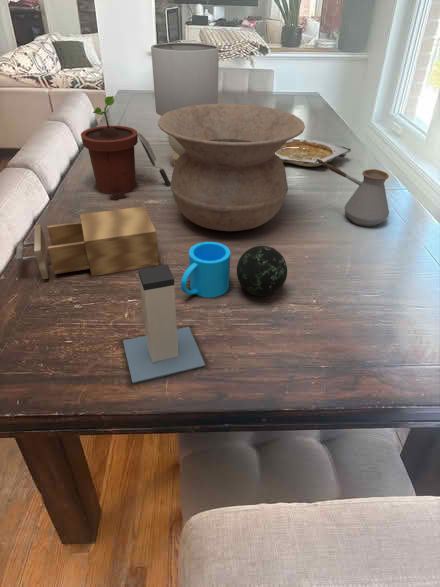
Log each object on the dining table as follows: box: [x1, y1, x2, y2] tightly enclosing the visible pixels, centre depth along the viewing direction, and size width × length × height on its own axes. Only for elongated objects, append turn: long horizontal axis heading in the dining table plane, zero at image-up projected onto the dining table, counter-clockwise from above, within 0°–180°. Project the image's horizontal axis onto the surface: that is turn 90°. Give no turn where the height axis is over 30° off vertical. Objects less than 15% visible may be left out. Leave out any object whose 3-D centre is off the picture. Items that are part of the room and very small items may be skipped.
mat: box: [122, 326, 206, 385], centre depth 70 cm, size 12×10×1 cm
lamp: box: [150, 41, 220, 167], centre depth 133 cm, size 20×20×35 cm
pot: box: [157, 103, 306, 232], centre depth 104 cm, size 34×34×25 cm
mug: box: [180, 241, 231, 298], centre depth 83 cm, size 12×8×8 cm
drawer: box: [15, 221, 90, 280], centre depth 89 cm, size 18×11×7 cm, turn 109°
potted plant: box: [80, 95, 171, 201], centre depth 118 cm, size 18×22×25 cm
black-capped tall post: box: [137, 264, 178, 363], centre depth 65 cm, size 4×4×16 cm
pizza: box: [275, 138, 352, 168], centre depth 149 cm, size 32×4×23 cm
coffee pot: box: [314, 159, 390, 227], centre depth 108 cm, size 21×12×15 cm, turn 74°
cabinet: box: [79, 205, 160, 277], centre depth 92 cm, size 15×13×9 cm
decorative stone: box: [236, 245, 288, 297], centre depth 82 cm, size 10×10×10 cm
